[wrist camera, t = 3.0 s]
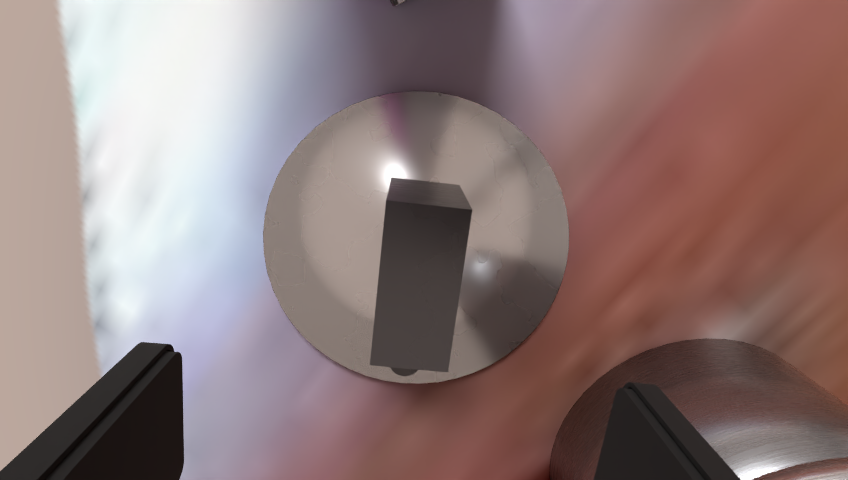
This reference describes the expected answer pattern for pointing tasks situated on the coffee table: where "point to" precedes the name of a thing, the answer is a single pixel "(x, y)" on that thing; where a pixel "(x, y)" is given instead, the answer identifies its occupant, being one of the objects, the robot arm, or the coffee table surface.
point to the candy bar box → (396, 2)
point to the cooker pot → (721, 412)
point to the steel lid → (416, 237)
